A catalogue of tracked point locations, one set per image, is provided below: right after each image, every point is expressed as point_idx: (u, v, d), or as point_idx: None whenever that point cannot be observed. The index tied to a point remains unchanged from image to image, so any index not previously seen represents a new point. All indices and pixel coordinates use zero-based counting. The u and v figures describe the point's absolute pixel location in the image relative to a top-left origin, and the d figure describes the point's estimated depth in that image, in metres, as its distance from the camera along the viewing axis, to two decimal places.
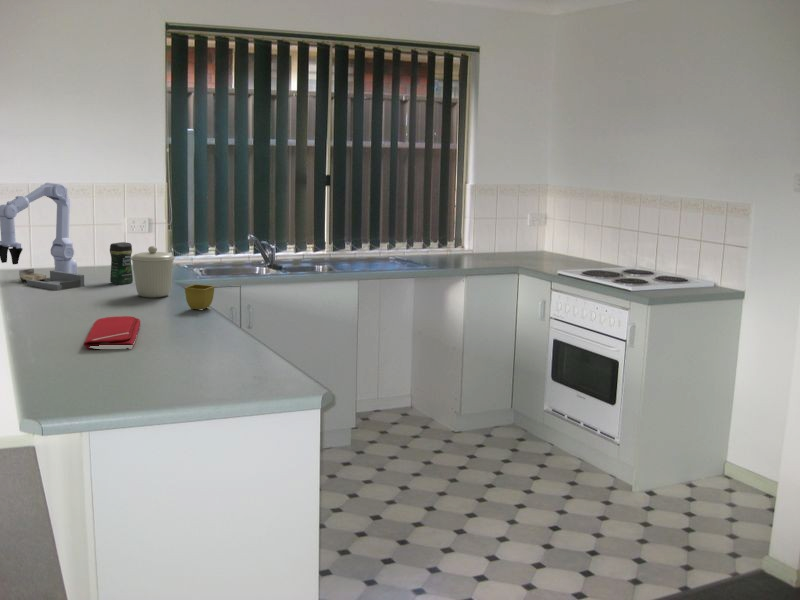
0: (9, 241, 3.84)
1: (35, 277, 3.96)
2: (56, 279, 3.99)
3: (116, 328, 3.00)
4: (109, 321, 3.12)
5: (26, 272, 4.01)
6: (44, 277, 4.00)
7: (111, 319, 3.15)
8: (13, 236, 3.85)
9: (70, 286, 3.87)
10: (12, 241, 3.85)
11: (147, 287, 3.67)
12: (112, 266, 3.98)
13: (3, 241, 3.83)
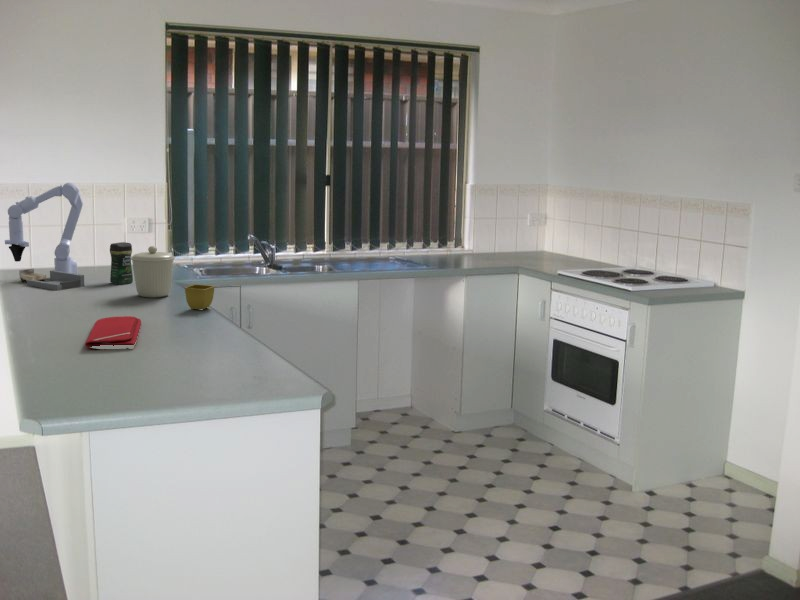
0: (17, 240, 4.00)
1: (35, 277, 3.96)
2: (56, 279, 3.99)
3: (117, 328, 3.00)
4: (110, 321, 3.12)
5: (26, 272, 4.01)
6: (44, 277, 4.00)
7: (112, 319, 3.15)
8: (21, 235, 4.01)
9: (70, 286, 3.87)
10: (20, 240, 4.01)
11: (147, 287, 3.67)
12: (112, 266, 3.98)
13: (11, 240, 3.99)
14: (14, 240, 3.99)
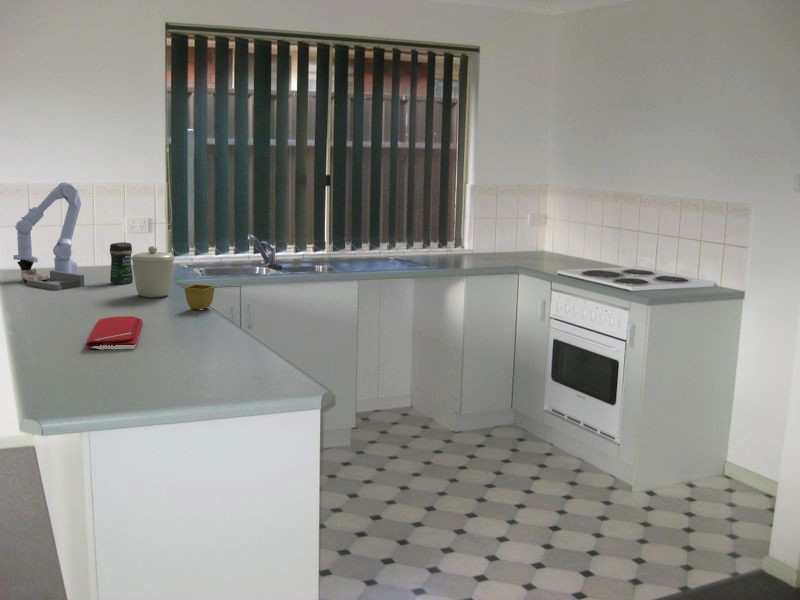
0: (26, 255, 3.98)
1: (37, 277, 3.95)
2: (56, 279, 3.99)
3: (118, 328, 3.00)
4: (111, 321, 3.12)
5: (28, 272, 4.00)
6: (46, 277, 3.99)
7: (113, 319, 3.15)
8: (30, 250, 3.99)
9: (70, 286, 3.87)
10: (29, 255, 3.99)
11: (147, 287, 3.67)
12: (112, 266, 3.98)
13: (20, 255, 3.98)
14: (23, 255, 3.98)
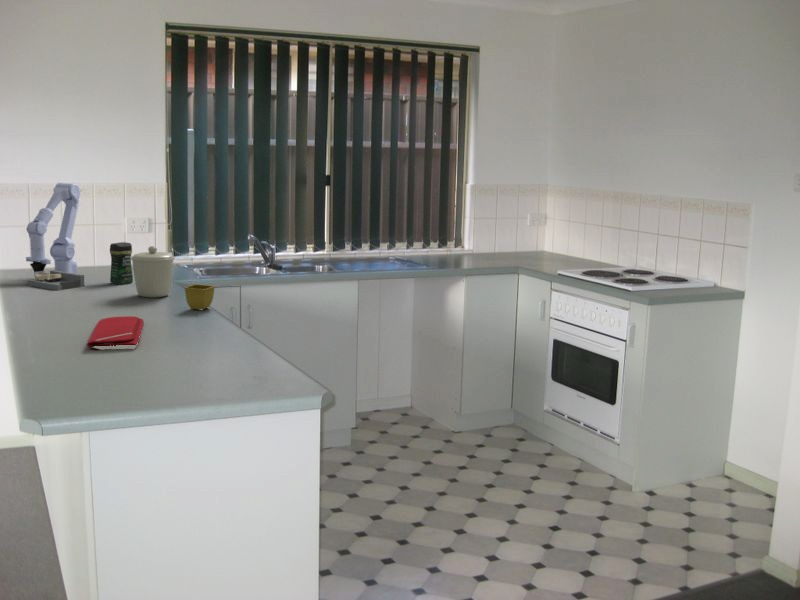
0: (39, 257, 3.94)
1: (50, 276, 3.90)
2: None
3: (119, 328, 3.00)
4: (112, 321, 3.12)
5: (41, 273, 3.96)
6: (59, 276, 3.94)
7: (114, 319, 3.15)
8: (43, 252, 3.95)
9: (70, 286, 3.87)
10: (42, 257, 3.94)
11: (147, 287, 3.67)
12: (112, 266, 3.98)
13: (33, 257, 3.93)
14: (36, 257, 3.93)
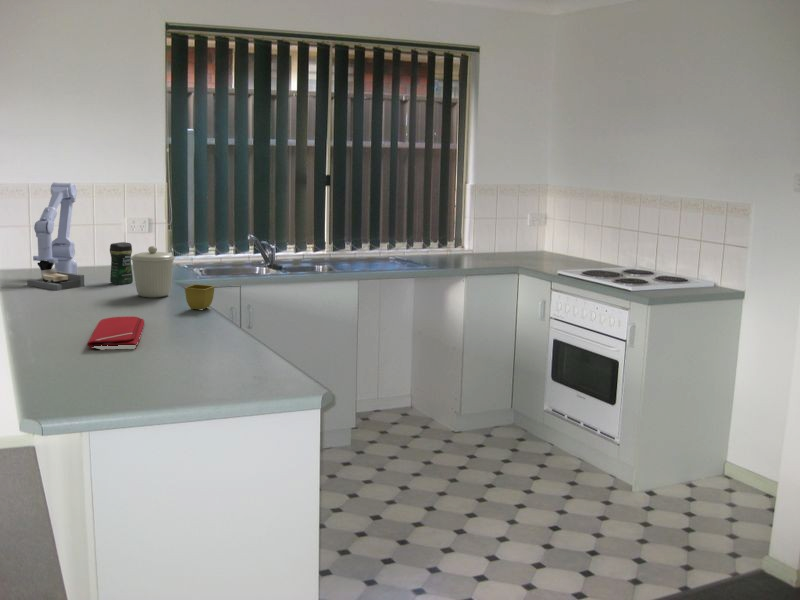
0: (46, 256, 3.91)
1: (57, 278, 3.87)
2: None
3: (120, 328, 2.99)
4: (113, 321, 3.12)
5: (48, 272, 3.93)
6: (66, 278, 3.91)
7: (115, 319, 3.15)
8: (50, 251, 3.92)
9: (70, 286, 3.87)
10: (49, 256, 3.92)
11: (147, 287, 3.67)
12: (112, 266, 3.98)
13: (40, 256, 3.91)
14: (43, 256, 3.90)
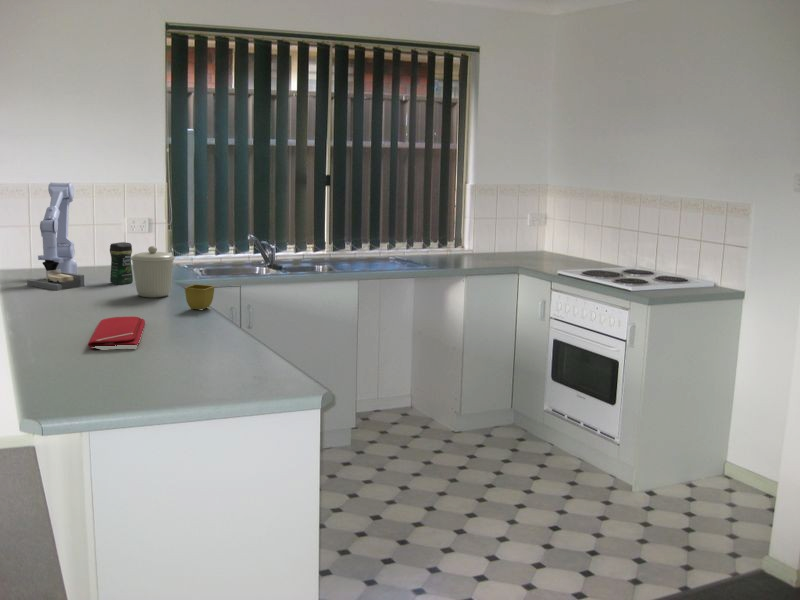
0: (51, 256, 3.89)
1: (63, 278, 3.86)
2: None
3: (120, 328, 2.99)
4: (114, 321, 3.12)
5: (53, 273, 3.91)
6: (72, 278, 3.90)
7: (116, 319, 3.15)
8: (55, 251, 3.90)
9: (70, 286, 3.87)
10: (54, 255, 3.90)
11: (147, 287, 3.67)
12: (112, 266, 3.98)
13: (45, 255, 3.89)
14: (48, 256, 3.89)
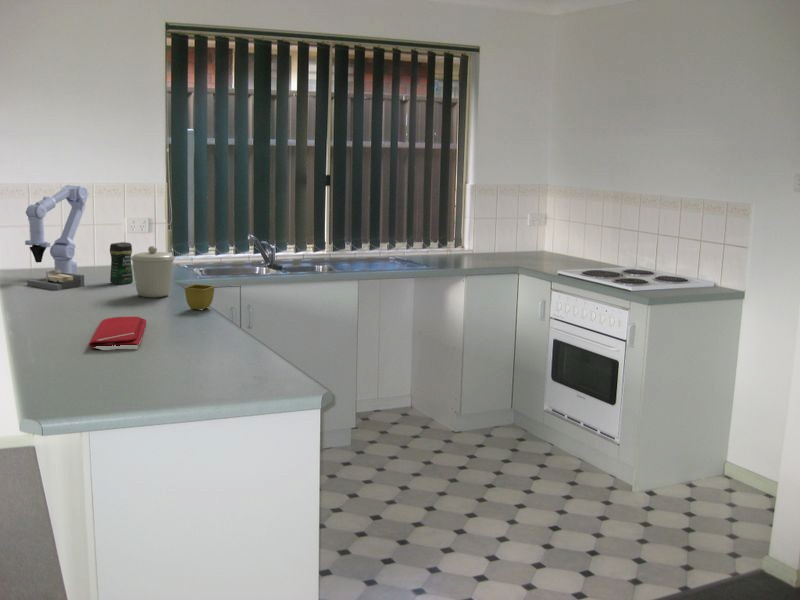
0: (38, 240, 3.92)
1: (63, 278, 3.86)
2: None
3: (122, 328, 2.99)
4: (115, 321, 3.12)
5: (53, 273, 3.91)
6: (71, 278, 3.90)
7: (117, 319, 3.15)
8: (42, 235, 3.94)
9: (70, 286, 3.87)
10: (41, 240, 3.93)
11: (147, 287, 3.67)
12: (112, 266, 3.98)
13: (32, 240, 3.92)
14: (35, 241, 3.92)
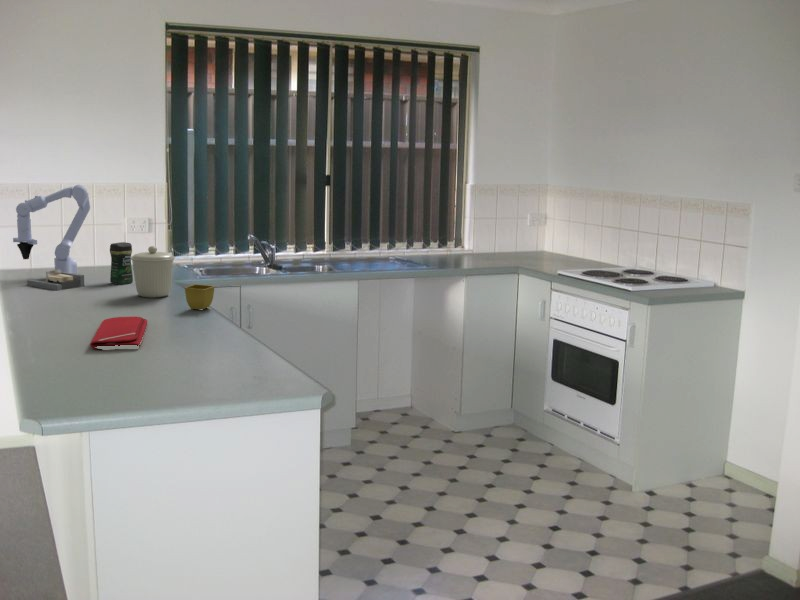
0: (26, 238, 4.00)
1: (63, 278, 3.86)
2: None
3: (123, 328, 2.99)
4: (116, 321, 3.12)
5: (53, 273, 3.91)
6: (71, 278, 3.90)
7: (118, 319, 3.15)
8: (29, 233, 4.02)
9: (70, 286, 3.87)
10: (28, 238, 4.01)
11: (147, 287, 3.67)
12: (112, 266, 3.98)
13: (20, 238, 4.00)
14: (22, 238, 4.00)
